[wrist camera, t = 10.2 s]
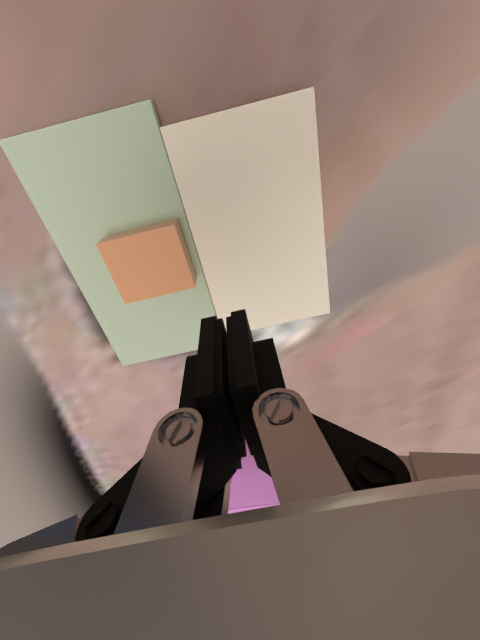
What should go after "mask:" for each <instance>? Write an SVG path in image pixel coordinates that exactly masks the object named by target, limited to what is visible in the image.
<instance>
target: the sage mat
mask: <svg viewBox="0 0 480 640" xmlns="http://www.w3.org/2000/svg"><path fill="white" fill-rule="evenodd" d="M160 127H161V125H160V122H159V118H158V115H157V112H156V108H155V105H154V102H153V101H152V100H150V99H149V100H146V101H142V102H138V103H134V104H131V105H127V106H123V107H120V108H116V109H112V110H109V111H105V112H101V113H97V114H94V115H90V116H86V117H83V118H79V119H75V120H72V121H68V122H64V123H60V124H57V125H53V126H49V127H46V128H42V129H38V130H35V131H31V132H27V133H23V134H20V135H16V136H12V137H9V138H5V139H1V140H0V145H1V147H2V149H3V151H4V153H5V154H6V156H7V158H8V160H9V162H10V163H11V165H12V167H13V169H14V171H15V172H16V174H17V176H18V178H19V180H20V181H21V183H22V185H23V187H24V189H25V190H26V192H27V194H28V196H29V198H30V199H31V201H32V203H33V205H34V207H35V208H36V210H37V212H38V214H39V216H40V217H41V219H42V221H43V223H44V225H45V226H46V228H47V230H48V232H49V234H50V235H51V237H52V239H53V241H54V243H55V244H56V246H57V248H58V250H59V252H60V253H61V255H62V257H63V259H64V261H65V262H66V264H67V266H68V268H69V270H70V271H71V273H72V275H73V277H74V279H75V280H76V282H77V284H78V286H79V288H80V289H81V291H82V293H83V295H84V297H85V298H86V300H87V302H88V304H89V306H90V307H91V309H92V311H93V313H94V315H95V316H96V318H97V320H98V322H99V324H100V325H101V327H102V329H103V331H104V333H105V334H106V336H107V338H108V340H109V342H110V343H111V345H112V347H113V349H114V351H115V352H116V354H117V356H118V358H119V360H120V361H121V363H122V365H123V366H126V365H130V364H135V363H139V362H144V361H148V360H153V359H157V358H162V357H166V356H171V355H176V354H180V353H185V352H189V351H194V350H198V344H199V334H200V324H201V319H203V318H207V317H212V316H216V317H217V315H216V311H215V308H214V305H213V302H212V298H211V295H210V292H209V288H208V285H207V282H206V278H205V275H204V272H203V269H202V265H201V262H200V259H199V255H198V252H197V249H196V246H195V242H194V239H193V236H192V232H191V229H190V226H189V223H188V219H187V216H186V213H185V209H184V206H183V203H182V200H181V196H180V193H179V190H178V186H177V183H176V180H175V177H174V173H173V170H172V167H171V163H170V160H169V157H168V154H167V150H166V147H165V144H164V140H163V137H162V134H161V131H160ZM176 217H178V218H179V221H180V224H181V227H182V230H183V233H184V236H185V240H186V243H187V246H188V249H189V252H190V255H191V258H192V261H193V264H194V267H195V270H196V274H197V280H196V286H195V288H191V289H187V290H183V291H178V292H174V293H170V294H166V295H162V296H157V297H153V298H149V299H145V300H140V301H136V302H132V303H128V304H125V303H124V301H123V299H122V297H121V295H120V293H119V291H118V289H117V286H116V284H115V282H114V280H113V278H112V276H111V274H110V272H109V270H108V268H107V266H106V264H105V262H104V260H103V258H102V256H101V254H100V252H99V250H98V247H97V245H96V244H97V243H98V242H99V241H100V240H101V239H103V238H104V237H105V236H106V235H109V234H113V233H117V232H121V231H125V230H129V229H132V228H136V227H140V226H144V225H148V224H152V223H156V222H160V221H164V220H168V219H172V218H176ZM217 319H218V318H217Z"/></svg>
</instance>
